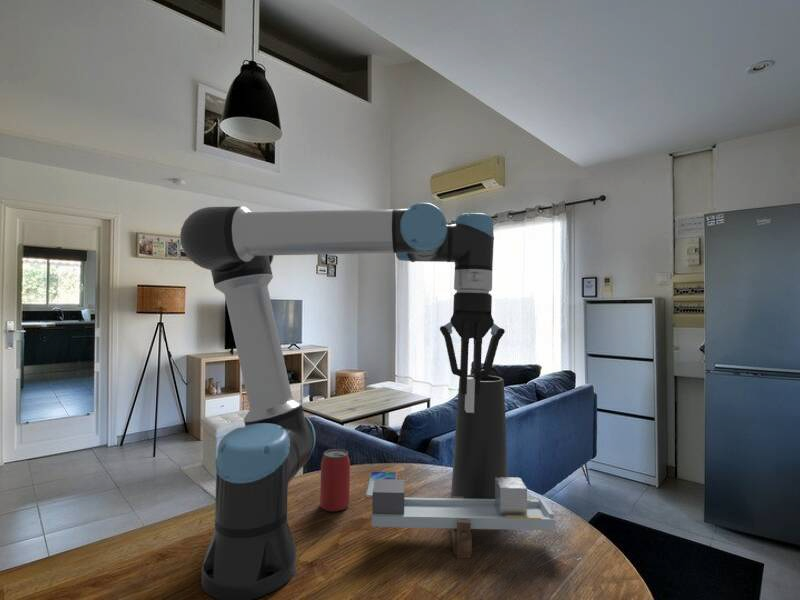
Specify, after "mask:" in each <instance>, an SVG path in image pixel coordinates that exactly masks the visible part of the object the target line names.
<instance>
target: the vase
mask: <svg viewBox="0 0 800 600" xmlns="http://www.w3.org/2000/svg"><path fill="white" fill-rule="evenodd" d="M467 377H473V374H468V376H467ZM457 393H458V394H457V406H456V421H455V432H454V433H455V434H454V435H455V436H454V449H453V459H452V460H453V461H452V462H453V463H452V477H451V490H450V495H451V496H450V497H451V498H452V496H462V497H464V499H495V477H509V468H508V464H509V463H508V447H507V446H508V443H507V425H506V424H507V422H506V398H505V380H504V378H503V377H500V376H496V375H491V374H490V375H489V376H484V377H482V378H481V380H480V394H479V395H474V413H467V412H466V411H465V394H461V392H460V377H459V379H458V391H457Z"/></svg>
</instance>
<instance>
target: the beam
mask: <svg viewBox="0 0 800 600" xmlns="http://www.w3.org/2000/svg"><path fill="white" fill-rule="evenodd" d="M405 482H406V481H405V479H396V480H393V479H375V483H374V488H373V498H372V500H371V501H372V510H371V512H372V514H371V527H372V528H409V529H410V528H412V529H415V528H416V529H417V528H418V529H450V528H457V520H470V522H471V530H473V529H474V530H510V531H511V530H514V531H515V530H516V531H517V530H518V531H519V530H520V531H521V530H522V531H556V518H555V514H554V512H553V511H552V510H551V508H550V506H549V505H548V504H547V502H546V501H545V499H544V498H538V499H530V498H527V516H515V515H506V516H499V515H498V513H497V511H496V509H495V499H459V498H450V497H448V498H447V497H446V498H444V497H443V498H442V497H405V494H406V493H405V492H406V491H405V490H406V489H405V488H406V487H405Z"/></svg>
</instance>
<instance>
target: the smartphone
mask: <svg viewBox="0 0 800 600" xmlns="http://www.w3.org/2000/svg"><path fill="white" fill-rule="evenodd" d="M397 478H398V477H397V472H396V471H371V472H370V474H369V478H368V483H367V487H366V490H365V494H364V497H365V498H367V499H373V488H374V483H375V479H393V480H398V479H397Z"/></svg>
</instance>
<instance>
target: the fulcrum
mask: <svg viewBox="0 0 800 600" xmlns="http://www.w3.org/2000/svg"><path fill="white" fill-rule="evenodd" d="M452 498H459V499H464V497H462V496H452ZM449 534H450V538H451V544H452V549H453V550H452V551H453V555H455V556H456V559H471V556H472V555H473V554H472V553H473V549H472V548H473V532H472V529H471V522H470V520H457V528H449Z"/></svg>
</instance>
